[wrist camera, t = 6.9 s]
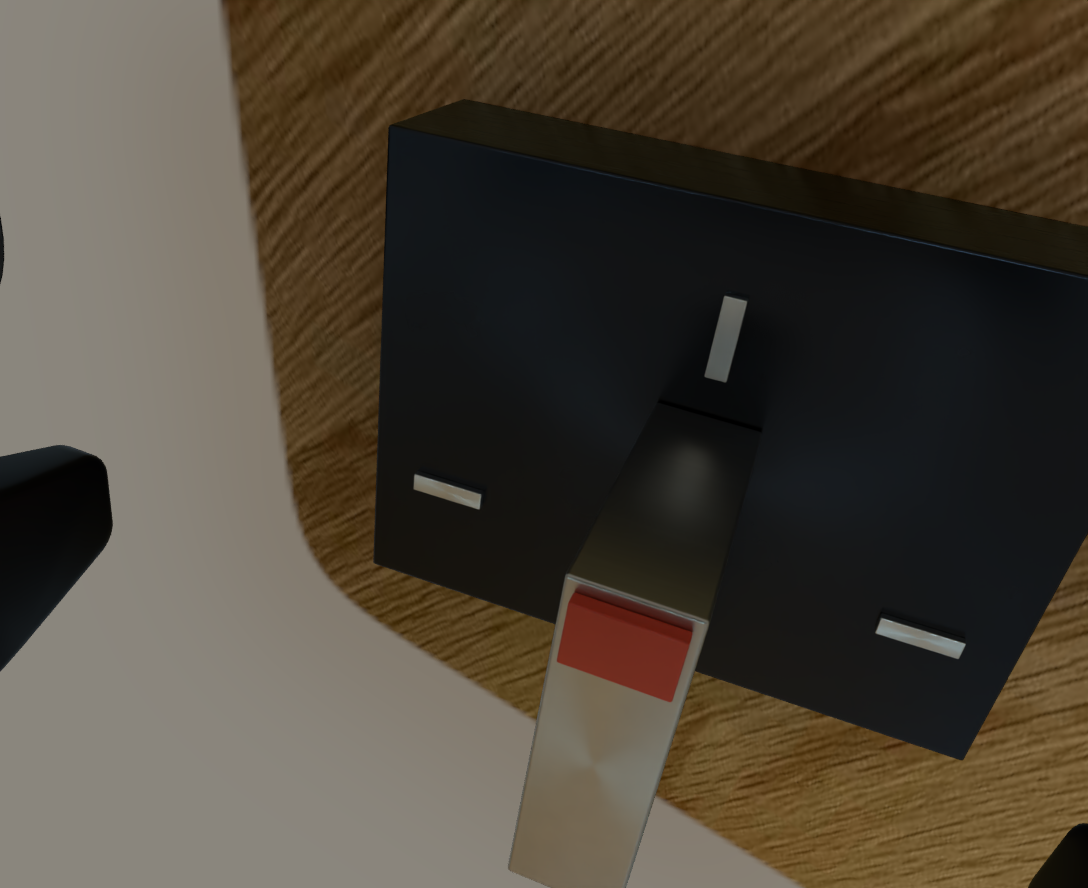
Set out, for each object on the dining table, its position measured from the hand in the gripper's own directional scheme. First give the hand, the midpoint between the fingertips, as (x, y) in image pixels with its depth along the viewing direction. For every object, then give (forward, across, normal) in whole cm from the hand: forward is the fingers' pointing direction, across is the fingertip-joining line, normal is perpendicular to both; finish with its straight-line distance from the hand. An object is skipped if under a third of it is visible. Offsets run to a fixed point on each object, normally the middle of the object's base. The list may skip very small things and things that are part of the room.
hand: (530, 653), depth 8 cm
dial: (+8, -1, +4) cm, 9 cm away
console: (+11, -1, +3) cm, 11 cm away
